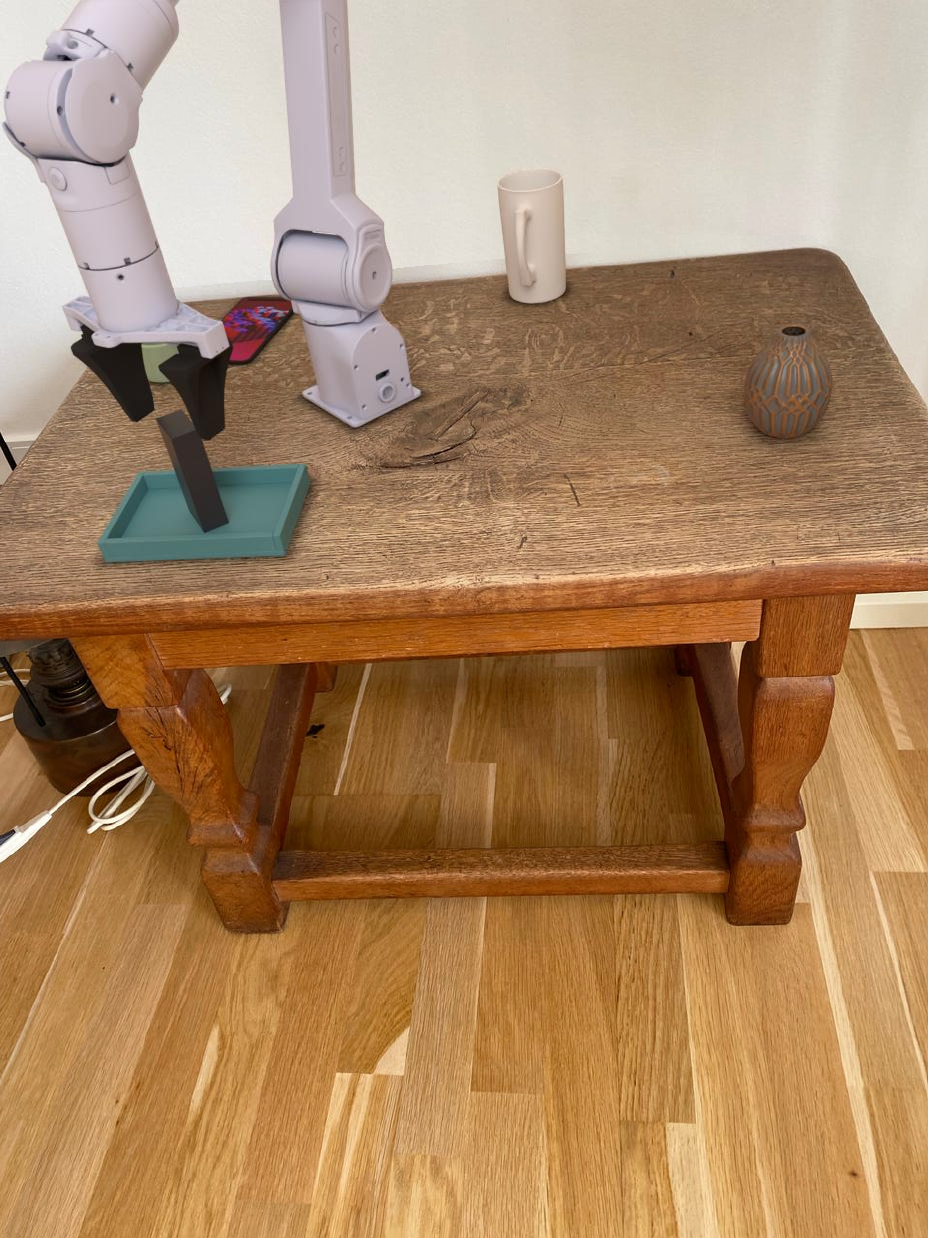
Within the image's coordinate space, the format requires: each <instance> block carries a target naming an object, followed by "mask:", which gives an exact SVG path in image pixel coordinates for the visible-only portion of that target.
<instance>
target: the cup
mask: <svg viewBox="0 0 928 1238" xmlns="http://www.w3.org/2000/svg"><path fill="white" fill-rule="evenodd" d="M142 353H143V360H144V366H145V370H146V374H147V378H148V381H149V382H151V383H152V382H153V383H171V382H170V381H169V380H168V379H167V378H166V377H165V376H164V375H163V374H162V373H161V372H160V371H159V368H158V365H160V364H161V363H163V362H164V361H166V360H167V359H169V358H170V357H172V356H173V355H175V354H179V352H178V349H177V346H173V345H168V344H163V343H158V342H153V343H142Z"/></svg>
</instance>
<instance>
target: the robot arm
mask: <svg viewBox="0 0 928 1238" xmlns="http://www.w3.org/2000/svg"><path fill="white" fill-rule="evenodd" d="M180 1H181V0H79V1H78V3H77V4H76V5H75V7H74V8H73V9H72V11H71V12H70V14H69V15H68V17H67V19H66V20H65V21H64V23H63V24H62V26H61V27H60V29H59V30H58V29H57V30H52V31H51V32H50V33H49V36H48V37H47V38H46V40H45V45H46V46H47V48H46V49H45V51H44V53H43V56H42V60H41V59H40V60H39V59H37V60H36V59H31V61H25V62H23V63H21V64H20V65H18V66H17V67H16V68H15V69H14V70H13V71H12V73H11V75H10V77H9V79H8V81H7V83H6V86H5V89H4V93H3V109H4V115H5V120H4V121H2V122H1V127H2V129H3V132H4V133H5V136H6V137H7V139H8V141H9V142H10V144H12V146H13V147H14V148H15V149H16V150H17V151H18V152H19V153H20V154H22V155H23V156H25V157H26V158H27V159H29V161H30V162H31V164H32V165H33V167H34V168H35V171H36V173H37V176H38V179H39V181H40V183H42V184H45V186H46V188H47V189H48V192H49V195H50V197H51V200H52V203H53V205H54V207H55V210H56V213H57V215H58V218H59V221H60V224H61V226H62V228H63V231H64V235H65V237H66V239H67V242H68V245H69V247H70V250H71V253H72V255H73V257H74V261H75V263H76V265H77V268H78V271H79V273H80V277H81V279H82V281H83V284H84V286H85V289H86V293H87V296H86V295H79V296H77V297H76V298H74V299H72V300H70V301H68V302H67V303H65V304H64V305H62V306H61V308H62V311H63V313H64V316H65V318H66V321H67V324H68V326H69V328H70V331H74V332H81V333H82V334H80V337H81V338H80V339H78V340H77V341H75V342H73V343H72V344H71V346H70V350H71V353H72V355H73V356H74V357H75V358H76V359H78V360H79V361H80V362H81V363H83V364H84V365H85V366H86V367H88V369H90V371H91V372H92V373H93V374H95V375H96V377H97V378H98V379H99V380H100V381H101V382H102V383H103V385H104V386H105V387H106V388H107V390H108V391H109V392H110V394H111V395H112V396H113V398H114V399H115V400H116V403H117V404H118V405H119V406H120V408H121V410H123V412H124V413H125V415H126V416H127V417H128V419H129V420H130V421H131V422H133V423H139V422H140V421H142V420H143V419H145V418H146V417H147V416H149V415H150V414H152V413H153V412H154V411H156V410H155V401H154V396H153V395H154V394H153V392H152V388H151V385H150V381H149V380H148V378H147V374H146V370H145V366H144V360H143V353H142V343H153V342H158V343H163V344H168V345H173V346H177V349H178V352H179V354H175V355H173V356H172V357H170V358H169V359H167V360H166V361H164V362H163V363H161V364H160V365H158V368H159V371H160V372H161V373H162V374H163V375H164V376H165V377H166V378H167V379H168V380H169V381H170V382H169V383H170V384H171V385H172V387H173V388H174V389H175V390H176V392H177V393H178V395H179V397H180V398H181V400H182V402H183V404H184V406H185V408H186V410H187V413H188V415H189V419H190V420H191V421H192V423H193V425H194V427H195V429H196V431H197V433H198V434H199V436H200V437H201V439H202V441H206V442H208V441H212V439H214V438H215V437H217V435H219V434H221V432H223V431H224V430H225V429H226V415H225V412H226V411H225V410H226V409H225V388H226V380H227V373H228V368H229V365H230V364H229V361H230V357H231V354H232V351H233V344H232V341H231V339H230V338H229V337H227V336H226V332H225V329H224V325H223V322H222V320H218V319H214V318H211V317H208V316H207V315H204V314H203V313H201V312H199V311H198V310H196V309H194V308H193V307H191V306H189V305H188V304H186V303H184V302H182V301H181V300H179V299H177V296H176V293H175V290H174V286H173V283H172V280H171V277H170V274H169V270H168V268H167V265H166V262H165V259H164V255H163V252H162V249H161V245H160V243H159V241H158V237H157V235H156V230H155V227H154V225H153V222H152V218H151V216H150V215H151V214H150V212H149V209H148V206H147V203H146V200H145V197H144V193H143V191H142V187H141V183H140V180H139V177H138V175H137V171H136V168H135V165H134V164H135V163H134V161H133V159H132V156H131V152H130V150H131V149H133V148H134V147H136V143H137V140H138V136H139V131H140V130H139V128H140V115H139V114H140V112H139V111H140V107H141V104H142V103H143V101H144V98H143V94H144V91H145V90H146V88H147V87H148V85H149V83H150V82H151V80H152V78H153V77H154V76H155V74H156V73H157V71H158V70H159V68H160V66H161V65H162V63H163V62H164V60H165V59H166V57H167V55H168V54H169V52H170V51H171V49H172V48H173V46H174V44H175V43H176V41H177V40H178V37H179V34H180V24H179V18H178V14H177V10H176V6H177V5H178V3H179V2H180ZM278 3H279V4H278V5H279V17H280V31H281V43H282V44H281V47H282V58H283V72H284V87H285V99H286V100H285V101H286V112H287V113H286V114H287V127H288V141H289V143H288V144H289V155H290V156H289V157H290V169H291V170H290V171H291V183H292V197H291V199H290V200H289V201H288V203H286V204H285V206H284V207H282V209H281V210H280V211H279V212H278V213H277V214H276V215H275V217H274V219H273V228H274V229H273V230H274V232H273V233H274V239H273V247H272V250H271V255H270V264H269V265H270V277H271V280H272V284H273V286H274V289H275V290H276V292H277V293H278V295H279V297H283V298H284V299H286V300H288V301H291V303H292V307H293V312H294V314H297V315H299V316H300V319H301V323H302V326H303V331H304V336H305V339H306V344H307V348H308V352H309V356H310V361H311V365H312V369H313V373H314V378H315V383H316V384H315V385H312V386H311V387H308V388H307V389H304V390H303V391H302V392H301V394H302V397H303V398H304V399H306V400H307V401H310V402H311V403H313V404H315V405H316V406H317V407H319V408H321V409H322V410H324V411H325V412H327V413H329V414H330V415H332V416H334V417H336V418H337V419H338V420H340V421H342V422H343V423H345V424H347V425H349V426H350V427H352V428H356V429H357V428H359V427H361V426H363V425H366V424H367V423H369V422H371V421H373V420H375V419H377V418H379V417H381V416H384V415H385V414H387V413H389V412H391V411H393V410H395V409H397V408H399V407H402V406H403V405H406V404H407V403H409V402H411V401H413V400H415V399H417V398H419V397H421V395H422V391H421V389H419V388H417V387H415V386H414V385H412V384H413V383H412V378H411V373H410V367H409V361H408V354H407V349H406V342H405V340H404V338H403V337H404V336H403V335H402V333H401V332H400V331H399V329H398V328H396V326H394V325H392V324H391V323H390V322H389V321H388V320H387V318H385V315H384V314H383V312H382V310H381V306H382V305H383V304H384V303H385V302H386V299H387V297H388V295H389V293H390V290H391V287H392V282H393V264H392V259H391V255H390V253H389V249H388V247H387V243H386V235H385V221H384V220H383V219H382V218H381V217H380V216H379V215H378V214H377V213H376V212H375V211H374V210H373V209H372V208H371V207H369V206H368V205H367V204H366V203H365V202H364V201H363V200H362V199H360V197H359V196H358V194H357V192H356V170H355V169H356V168H355V148H354V126H353V125H354V123H353V103H352V82H351V81H352V79H351V78H352V77H351V54H350V34H349V33H350V31H349V10H348V9H349V8H348V0H278Z"/></svg>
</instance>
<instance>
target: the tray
mask: <svg viewBox="0 0 928 1238" xmlns="http://www.w3.org/2000/svg"><path fill="white" fill-rule="evenodd" d="M211 468H212V471H213V474H214V477H215V480H216V483H217V488H218V491H219V494H220V497H221V500H222V503H223V506H224V509H225V512H226V515H227V518H228V521H229V523H228V524H226V525H223V526H221V527H218V528H216V529H213V530H211V531H209V532H206V533H204V532H203V530H202V529H201V527H200V526H199V524H198V523H197V522H196V520H195V519H194V517H193V516H192V514H191V513H190V511H189V509H188V506H187V504H186V501H185V498H184V495H183V493H182V490H181V487H180V484H179V482H178V479H177V476H176V473H175V471H174V469H168V470H149V471H148V470H147V471H138V472H137V474H136V475H135V477H134V478H133V481H132V482H131V485H130V486H129V488H128V490H127V491H126V493H125V494H124V496H123V498H122V500H121V502H120V504H119V505H118V507H117V508H116V510H115V512H114V513H113V515H112V517H111V518H110V520H109V521H108V524H107V525H106V527H105V529H104V530H103V532H102V533H101V536H100V538H99V539H98V541H97V543H96V544H97V546H98V548H99V550H100V552H101V555H102V557H103V559H104V561H105V563H125V562H126V563H127V562H153V561H154V562H155V561H178V560H203V559H204V560H205V559H230V558H233V559H235V558H259V557H260V558H261V557H281V556H282V557H283V556H286V555H287V553H288V549H289V546H290V543H291V542H292V538H293V535H294V532H295V529H296V526H297V523H298V521H299V518H300V515H301V512H302V509H303V507H304V504H305V501H306V498H307V495H308V492H309V489H310V486H311V483H312V481H311V478H310V477H311V476H310V473H309V469H308V465H307V463H306V462H305V463H286V464H285V463H284V464H267V465H248V466H246V465H245V466H229V467H227V466H226V467H211Z"/></svg>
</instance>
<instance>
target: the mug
mask: <svg viewBox="0 0 928 1238" xmlns="http://www.w3.org/2000/svg"><path fill="white" fill-rule="evenodd" d="M563 175H564V174H563V173H562V172H561V171H559V170H558V169H553V168H550V167H549V168H548V167H528V168H523V169H522V168H521V169H517V170H514V171H510V172H508V173H506V174H504V175H502V176H500V177H499V178H498V180H497V182H496V186H497V197H498V199H497V200H498V207H499V208H498V209H499V216H500V217H499V218H500V225H501V234H502V235H501V236H502V243H503V244H502V245H503V250H504V251H503V252H504V253H503V254H504V260H505V262H504V263H505V268H506V269H505V270H506V276H507V285H508V293H509V296H510V297H511V298H512V299H513V300H515V301H516V302H519V303H523V304H543V303H547V302H549V301H554V300H556V299H558V298H560V297H561V296H562V295H563V294H564V293H565V292H566V288H567V279H566V278H567V275H566V274H567V265H566V261H567V260H566V234H565V233H566V232H565V229H566V228H565V198H564V197H565V196H564V194H565V193H564V192H565V191H564V178H563V177H564V176H563Z"/></svg>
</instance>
